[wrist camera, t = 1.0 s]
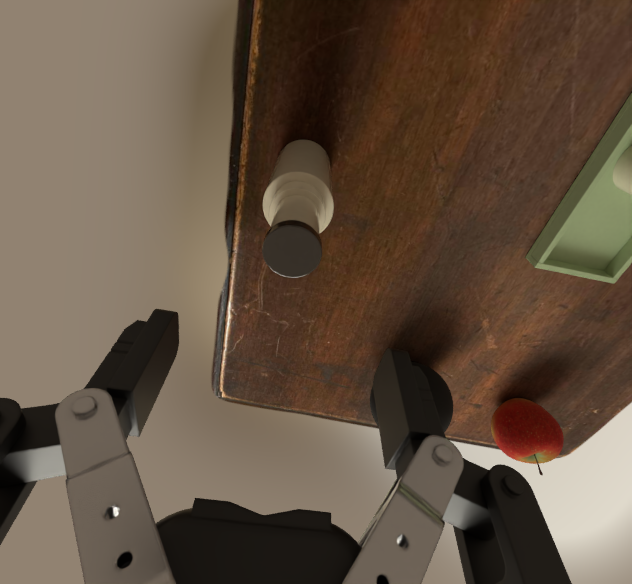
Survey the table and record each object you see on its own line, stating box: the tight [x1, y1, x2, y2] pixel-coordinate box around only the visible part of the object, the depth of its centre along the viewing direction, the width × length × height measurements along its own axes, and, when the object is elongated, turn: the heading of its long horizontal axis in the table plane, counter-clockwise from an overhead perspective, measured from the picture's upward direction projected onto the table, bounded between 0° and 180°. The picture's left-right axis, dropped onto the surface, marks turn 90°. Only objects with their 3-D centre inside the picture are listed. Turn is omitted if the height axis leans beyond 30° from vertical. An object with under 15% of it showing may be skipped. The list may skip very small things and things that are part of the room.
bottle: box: [262, 140, 334, 278], centre depth 26 cm, size 5×5×16 cm
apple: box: [491, 398, 563, 475], centre depth 48 cm, size 8×8×10 cm
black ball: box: [370, 362, 453, 432], centre depth 44 cm, size 10×10×10 cm
